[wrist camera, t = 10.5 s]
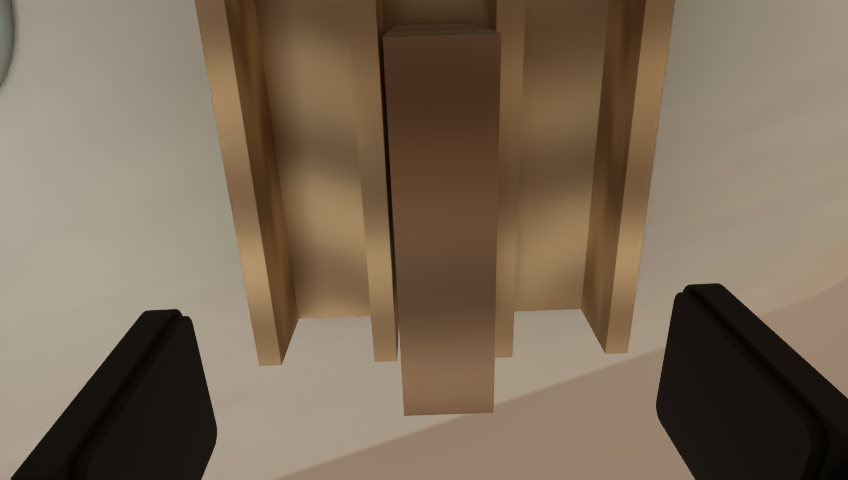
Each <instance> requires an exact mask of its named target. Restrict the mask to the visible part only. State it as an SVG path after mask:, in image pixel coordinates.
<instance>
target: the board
mask: <svg viewBox="0 0 848 480" xmlns="http://www.w3.org/2000/svg"><path fill="white" fill-rule="evenodd" d="M383 53H384V70H385V87H386V105H387V122H388V140H389V157H390V174H391V192H392V209H393V227H394V244H395V262H396V279H397V296H398V314H399V331H400V349H401V366H402V383H403V401H404V416H410V415H439V414H467V413H493V405H494V358H495V311H496V264H497V217H498V170H499V123H500V75H501V33H499V32H496V31H494V30H491V29H488V28H485V27H482V26H479V25H476V24H473V23H470V22H467V21H465V22H436V23H407V24H395V25H394V26H393V27H392V28H391V29H390V30H389V31H388V32H387V33H386V34H385V35H384V36H383Z"/></svg>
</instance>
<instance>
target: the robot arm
mask: <svg viewBox="0 0 848 480" xmlns="http://www.w3.org/2000/svg"><path fill="white" fill-rule="evenodd" d="M656 410H657V415H658V418H659V420H660V422H661V424H662V426H663V427H664V429H665V431H666V432H667V434H668V436H669V437H670V439H671V440H672V442H673V444H674V445H675V447H676V449H677V450H678V452H679V454H680V455H681V457H682V459H683V460H684V462H685V463H686V465H687V467H688V468H689V470H690V471H691V473H692V475H693V476H694V478H695V480H848V398H846V397H845V396H844V395H843V394H842V393H841V392H840V391H839V390H837V388H835V387H834V386H833V385H832V384H831V383H830V382H829V381H828V380H827V379H825V378H824V377H823V376H822V375H821V374H820V373H819V372H818V371H817V370H816V369H814V368H813V367H812V366H811V365H810V364H809V363H808V362H807V361H806V360H805V359H803V358H802V357H801V356H800V355H799V354H798V353H797V352H796V351H794V350H793V349H792V348H791V347H790V346H789V345H788V344H787V343H786V342H785V341H784V340H782V339H781V338H780V337H779V336H778V335H777V334H775V332H774V331H772V330H771V329H770V328H769V327H768V326H767V325H766V324H765V323H763V322H762V321H761V320H760V319H759V318H758V317H757V316H756V315H755V314H754V313H753V312H751V311H750V310H749V309H748V308H747V307H746V306H745V305H744V304H743V303H741V302H740V301H739V300H738V299H737V298H736V297H735V296H734V295H733V294H732V293H730V292H729V291H728V290H727V289H726V288H725V287H724V286H722V285H721V284H717V283H715V284H694V285H687V286H686V287H685V288H684V290H683V292H680V293H678V294H677V295H676V296H675V299H674V304H673V310H672V315H671V321H670V327H669V332H668V338H667V344H666V349H665V355H664V361H663V366H662V372H661V378H660V384H659V389H658V395H657V401H656ZM216 439H217V426H216V421H215V417H214V412H213V408H212V404H211V400H210V395H209V391H208V387H207V383H206V378H205V374H204V370H203V366H202V361H201V357H200V353H199V349H198V344H197V340H196V336H195V332H194V327H193V323H192V320H191V319H190V317H188V316H182V314H181V312H180V311H179V310H177V309H169V310H148V311H145V312H143V313H142V314H141V316H140V317H139V318H138V319H137V321H136V322H135V323H134V324H133V326H132V327H131V328H130V329H129V331H128V332H127V333H126V334H125V336H124V337H123V338H122V339H121V341H120V342H119V343H118V344H117V346H116V347H115V348H114V349H113V351H112V352H111V353H110V354H109V356H108V357H107V358H106V359H105V361H104V362H103V363H102V365H101V366H100V367H99V368H98V370H97V371H96V372H95V373H94V375H93V376H92V377H91V378H90V380H89V381H88V382H87V383H86V385H85V386H84V387H83V388H82V390H81V391H80V392H79V393H78V395H77V396H76V397H75V398H74V400H73V401H72V402H71V403H70V405H69V406H68V407H67V408H66V410H65V411H64V412H63V413H62V415H61V416H60V417H59V418H58V420H57V421H56V422H55V423H54V425H53V426H52V427H51V428H50V430H49V431H48V432H47V433H46V435H45V436H44V437H43V439H42V440H41V441H40V442H39V444H38V445H37V446H36V447H35V449H34V450H33V451H32V452H31V454H30V455H29V456H28V457H27V459H26V460H25V461H24V462H23V464H22V465H21V466H20V467H19V469H18V470H17V471H16V472H15V474H14V475H13V476H12V477H11V480H201V479H202V476H203V474H204V472H205V469H206V467H207V464H208V462H209V459H210V457H211V454H212V452H213V449H214V447H215V444H216Z"/></svg>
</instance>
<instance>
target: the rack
mask: <svg viewBox="0 0 848 480" xmlns="http://www.w3.org/2000/svg"><path fill="white" fill-rule="evenodd" d="M674 3H675V0H195V5H196V11H197V16H198V22H199V27H200V33H201V39H202V44H203V50H204V56H205V61H206V67H207V73H208V78H209V84H210V90H211V95H212V101H213V107H214V112H215V118H216V124H217V129H218V135H219V141H220V146H221V152H222V158H223V163H224V169H225V175H226V180H227V186H228V192H229V197H230V203H231V209H232V214H233V220H234V225H235V231H236V237H237V242H238V248H239V254H240V259H241V265H242V271H243V276H244V282H245V288H246V293H247V299H248V305H249V310H250V316H251V322H252V327H253V333H254V339H255V344H256V350H257V356H258V361H259V366H267V365H282V362H283V360H284V357H285V354H286V351H287V349H288V346H289V343H290V341H291V338H292V335H293V333H294V330H295V327H296V324H297V322H298V319H303V318H332V317H361V316H371V320H372V333H373V346H374V358H375V362H383V361H397V350H398V330H399V314H398V296H397V279H396V262H395V244H394V227H393V209H392V192H391V174H390V157H389V140H388V122H387V105H386V87H385V70H384V53H383V36H384V35H385V34H386V33H387V32H388V31H389V30H390V29H391V28H392V27H393V26H394V25H395V24H407V23H436V22H465V21H467V22H470V23H473V24H476V25H479V26H482V27H485V28H488V29H491V30H494V31H496V32H499V33H501V75H500V123H499V170H498V217H497V264H496V311H495V358H498V357H512V352H513V325H514V311H535V310H564V309H581V310H582V312H583V313H584V315H585V317H586V319H587V321H588V323H589V324H590V326H591V328H592V330H593V332H594V334H595V336H596V337H597V339H598V341H599V343H600V345H601V347H602V348H603V350H604V352H605V354H613V353H628V346H629V339H630V331H631V324H632V316H633V309H634V301H635V294H636V286H637V279H638V272H639V264H640V257H641V249H642V242H643V234H644V227H645V219H646V212H647V204H648V197H649V189H650V182H651V174H652V167H653V160H654V152H655V145H656V137H657V130H658V122H659V115H660V107H661V100H662V92H663V85H664V77H665V70H666V62H667V55H668V47H669V40H670V33H671V25H672V18H673V10H674Z"/></svg>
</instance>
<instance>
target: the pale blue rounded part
mask: <svg viewBox="0 0 848 480" xmlns="http://www.w3.org/2000/svg"><path fill="white" fill-rule="evenodd" d="M13 44H14V21H13V12H12V5H11V1H10V0H0V86H1V84H2V82H3V81H4V79H5V77H6V74H7V71H8V68H9V65H10V62H11V57H12V50H13Z"/></svg>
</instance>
